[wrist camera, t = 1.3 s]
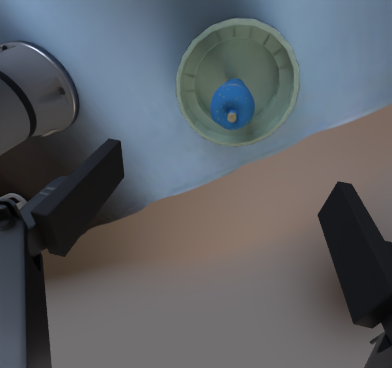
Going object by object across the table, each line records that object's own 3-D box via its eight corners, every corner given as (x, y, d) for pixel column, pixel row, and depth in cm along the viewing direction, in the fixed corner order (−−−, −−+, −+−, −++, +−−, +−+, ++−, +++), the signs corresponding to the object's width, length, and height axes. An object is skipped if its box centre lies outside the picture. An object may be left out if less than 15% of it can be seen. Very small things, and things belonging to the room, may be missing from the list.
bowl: (165, 87, 38) (154, 97, 34) (234, -15, 29) (232, -20, 25) (237, 148, 42) (235, 164, 38) (317, 75, 33) (327, 85, 29)
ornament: (219, 64, 34) (203, 94, 23) (254, 63, 33) (257, 93, 22) (219, 100, 37) (205, 142, 26) (252, 99, 36) (253, 143, 25)
